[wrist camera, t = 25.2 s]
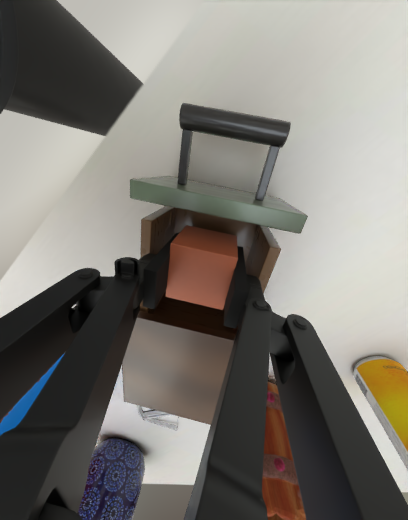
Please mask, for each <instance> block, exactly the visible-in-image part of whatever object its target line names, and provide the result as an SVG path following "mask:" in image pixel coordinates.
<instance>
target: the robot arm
mask: <svg viewBox="0 0 408 520" xmlns="http://www.w3.org/2000/svg"><path fill="white" fill-rule="evenodd" d="M178 234H179V233H176V234H175V235H174V236H173V237H172V238H171V239H170V240H169V241H168V242H167V244H166V245H165V246H164V247H163V248H162V249H161V250H160V251H159V252H158V254H157V255H156V254H151V253H148V254H146V255H144V256H143V257H142V258H140V259H139V260H137V259H135V258H131V257H125V258H120V259H117V260H116V261H115V276H114V277H102V276H100V272H99V271H98V270H96V269H92V268H84V269H80V270H78V271H75V272H74V273H72V274H70V275H69V276H67V277H66V278H64V279H62V280H61V281H59V282H58V283H56V284H54V285H53V286H51V287H50V288H48V289H46V290H45V291H43V292H42V293H40V294H38V295H37V296H35V297H34V298H32V299H30V300H29V301H27V302H26V303H24V304H22V305H21V306H19V307H18V308H16V309H14V310H13V311H11V312H10V313H8V314H6V315H5V316H3V317H2V318H0V421H1V419H2V418H3V417H4V416H5V415H6V414H7V413H8V412H9V411H10V410H11V409H12V408H13V407H14V406H15V405H16V404H17V403H18V401H19V400H20V399H21V398H22V397H23V396H24V395H25V394H26V393H27V392H28V391H29V390H30V389H31V388H32V387H33V386H34V385H35V384H36V382H37V381H38V380H39V379H40V378H41V377H42V376H43V375H44V374H45V373H46V372H47V371H48V370H49V369H50V368H51V367H52V366H53V364H54V363H55V362H56V361H57V360H58V359H59V358H60V357H61V356H62V355H63V354H64V353H65V354H64V355H63V357H62V358H61V360H60V362H59V363H58V365H57V366H56V368H55V369H54V371H53V372H52V374H51V376H50V377H49V379H48V380H47V382H46V383H45V385H44V387H43V388H42V390H41V391H40V393H39V394H38V396H37V397H36V399H35V401H34V402H33V404H32V405H31V407H30V408H29V410H28V411H27V413H26V415H25V416H24V418H23V419H22V420H21V422H20V423H19V424H18V425H17V426H16V427H15V428H13V429H11V430H9V431H7V432H4V433H3V434H2V435H1V436H0V520H83V519H82V518H81V517H80V516H79V515H78V514H77V513H78V510H79V507H80V504H81V501H82V497H83V494H84V490H85V486H86V482H87V476H88V469H89V464H90V460H91V457H92V454H93V451H94V448H95V445H96V442H97V439H98V435H99V432H100V429H101V426H102V423H103V420H104V417H105V414H106V411H107V408H108V405H109V402H110V399H111V396H112V393H113V390H114V386H115V383H116V380H117V377H118V374H119V371H120V368H121V365H122V362H123V359H124V356H125V353H126V350H127V347H128V344H129V340H130V337H131V334H132V331H133V328H134V325H135V322H136V319H137V316H138V313H139V305H140V303H141V302H142V300H143V307H147V308H151V309H155V308H156V306H157V304H158V302H159V300H160V299H161V297H162V295H163V293H164V291H165V290H166V288H167V280H168V270H169V260H170V245H171V243H172V241H173V240H174V239H175V238H176V237H177V235H178ZM237 248H238V260H237V264H236V267H235V269H234V272H233V276H232V279H231V283H230V286H229V290H228V293H227V296H226V300H225V312H224V326H227V327H231V328H235V329H236V327H237V324H238V330H237V333H236V336H235V338H234V341H233V347H232V351H231V354H230V358H229V362H228V365H227V369H226V372H225V376H224V380H223V383H222V387H221V390H220V394H219V398H218V401H217V405H216V408H215V412H214V416H213V419H212V423H211V426H210V430H209V434H208V437H207V441H206V445H205V448H204V452H203V455H202V459H201V463H200V466H199V470H198V473H197V477H196V481H195V484H194V488H193V491H192V495H191V498H190V501H189V504H188V507H187V510H186V514H185V517H184V520H268V516H267V507H266V505H265V502H264V499H263V494H262V478H263V460H264V442H265V424H266V406H267V388H268V370H269V352H270V357H271V361H272V366H273V370H274V375H275V379H276V384H277V388H278V393H279V398H280V402H281V407H282V411H283V416H284V420H285V425H286V429H287V434H288V439H289V443H290V448H291V452H292V457H293V461H294V466H295V470H296V475H297V480H298V484H299V489H300V493H301V498H302V502H303V507H304V511H305V516H306V520H408V505H407V503H406V501H405V499H404V497H403V495H402V493H401V491H400V489H399V488H398V486H397V484H396V482H395V480H394V478H393V476H392V474H391V473H390V471H389V469H388V467H387V465H386V463H385V461H384V459H383V457H382V456H381V454H380V452H379V450H378V448H377V446H376V444H375V442H374V441H373V439H372V437H371V435H370V433H369V431H368V429H367V427H366V425H365V424H364V422H363V420H362V418H361V416H360V414H359V412H358V410H357V408H356V407H355V405H354V403H353V401H352V399H351V397H350V395H349V393H348V392H347V390H346V388H345V386H344V384H343V382H342V380H341V378H340V376H339V375H338V373H337V371H336V369H335V367H334V365H333V363H332V361H331V359H330V358H329V356H328V354H327V352H326V350H325V348H324V346H323V344H322V343H321V341H320V339H319V337H318V335H317V333H316V331H315V329H314V327H313V326H312V325H311V323H310V322H309V321H308V320H306V319H305V318H303V317H301V316H299V315H295V314H291V315H288V317H287V318H283V317H281V316H279V315H277V314H275V313H274V312H272V309H271V306H270V305H269V304H268V303H267V302H266V301H265V299H264V295H263V290H262V286H261V282H260V280H259V279H258V278H257V276H252V275H248V274H246V267H245V259H244V251H243V247H240V246H237ZM74 304H76V306H75V307H74V308H72V306H73V305H74Z"/></svg>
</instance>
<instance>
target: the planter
mask: <svg viewBox="0 0 408 520" xmlns="http://www.w3.org/2000/svg"><path fill="white" fill-rule="evenodd" d="M144 470H145V462H144V457H143V454H142V452H141V450H140V449H139V448H138V447H137V446H136V445H134V444H133V443H131V442H129V441H126V440H123V439H119V438H110V439H106V440H104V441H102V442H101V443H100V444H98V445H97V446H96V447H95V448H94V451H93V454H92V457H91V460H90V464H89V469H88V476H87V482H86V486H85V490H84V494H83V497H82V501H81V504H80V507H79V510H78V513H77V514H78V515H79V516H80V517H81V518H82V519H83V520H132V519H133V515H134V512H135V508H136V504H137V501H138V497H139V493H140V490H141V486H142V481H143V477H144Z"/></svg>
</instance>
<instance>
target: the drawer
mask: <svg viewBox="0 0 408 520" xmlns="http://www.w3.org/2000/svg"><path fill="white" fill-rule="evenodd" d="M290 126H291V123H290V122H287V121H282V120H276V119H271V118H265V117H259V116H254V115H248V114H243V113H237V112H231V111H226V110H220V109H215V108H209V107H204V106H198V105H192V104H187V103H183V104H182V105H181V109H180V127H181V129H183V133H182V143H181V153H180V163H179V173H178V178H176V177H171V176H164V177H152V178H141V179H131V180H130V198H132V199H136V200H141V201H146V202H151V203H156V204H160V205H165V207H164V208H162V209H160V210H158V211H156V212H154V213H152V214H150V215H148V216H147V217H145V218H143V219H142V220H141V258H142V257H143V256H144V255H146V254H148V253H151V254H156V255H157V254H158V252H159V251H160V250H161V249H162V248H163V247H164V246H165V245H166V244H167V242H168V241H169V240H170V239H171V238H172V237H173V236H174V235H175V234H176V233H180V232H181V231H182V230H183V228H184V227H185V226H186V225H188V226H193V227H198V228H202V229H207V230H212V231H217V232H221V233H226V234H231V235H235V236H237V246H240V247H243V251H244V259H245V267H246V274H248V275H252V276H257V278H258V279H259V280H260V282H261V286H262V290H263V293H264V290H265V288H266V285H267V283H268V280H269V278H270V275H271V273H272V271H273V268H274V266H275V263H276V261H277V258H278V256H279V253H280V251H281V248H280V247H279V245H278V243H277V242H276V240H275V238H274V237H273V235H272V233H271V232H270V230H269V228H268V227H270V228H275V229H280V230H284V231H289V232H294V233H301V231H302V229H303V226H304V224H305V222H306V219H307V217H308V216H307V215H306V214H304V213H303V212H301V211H299V210H298V209H296V208H294V207H293V206H291V205H289V204H288V203H286V202H285V201H283V200H281V199H280V198H275V197H270V196H265V194H266V190H267V187H268V184H269V181H270V178H271V174H272V171H273V168H274V165H275V161H276V158H277V155H278V152H279V149H280V148H281V147H283V145H284V144H285V142H286V140H287V137H288V134H289V131H290ZM192 131H194V132H200V133H205V134H210V135H216V136H221V137H227V138H232V139H237V140H243V141H248V142H253V143H259V144H264V145H269V146H270V147H269V150H268V154H267V157H266V161H265V164H264V168H263V171H262V175H261V178H260V182H259V185H258V189H257V192H256V194H255V193H251V192H246V191H241V190H236V189H231V188H226V187H221V186H216V185H211V184H206V183H201V182H196V181H191V180H187V176H188V167H189V159H190V151H191V143H192V134H193V132H192ZM140 311H142V312H146V313H151V314H155V315H159V316H163V317H167V318H171V319H175V320H180V321H184V322H188V323H192V324H196V325H200V326H204V327H209V328H213V329H217V330H221V331H225V332H229V333H233V334H236V333H237V330H238V324H237V327H236V329H235V328H231V327H227V326H224V312H225V305H224V308H223V310H220V309H216V308H211V307H207V306H203V305H199V304H194V303H190V302H186V301H182V300H177V299H173V298H169V297H166V290H165V291H164V293H163V295H162V297H161V299H160V300H159V302H158V304H157V306H156V308H155V309H151V308H147V307H143V300H142V302H141V303H140Z"/></svg>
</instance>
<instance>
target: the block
mask: <svg viewBox="0 0 408 520" xmlns="http://www.w3.org/2000/svg"><path fill="white" fill-rule="evenodd" d="M237 260H238V248H237V236H235V235H231V234H226V233H221V232H217V231H212V230H207V229H202V228H198V227H193V226H188V225H186V226H185V227H184V228H183V230H182V231H181V232H180V233H179V234H178V235H177V237H176V238H175V239H174V240H173V241H172V243H171V245H170V260H169V270H168V280H167V288H166V297H169V298H173V299H177V300H182V301H186V302H190V303H194V304H199V305H203V306H207V307H211V308H216V309H220V310H223V308H224V305H225V300H226V296H227V293H228V290H229V286H230V283H231V279H232V276H233V272H234V269H235V267H236V264H237Z"/></svg>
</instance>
